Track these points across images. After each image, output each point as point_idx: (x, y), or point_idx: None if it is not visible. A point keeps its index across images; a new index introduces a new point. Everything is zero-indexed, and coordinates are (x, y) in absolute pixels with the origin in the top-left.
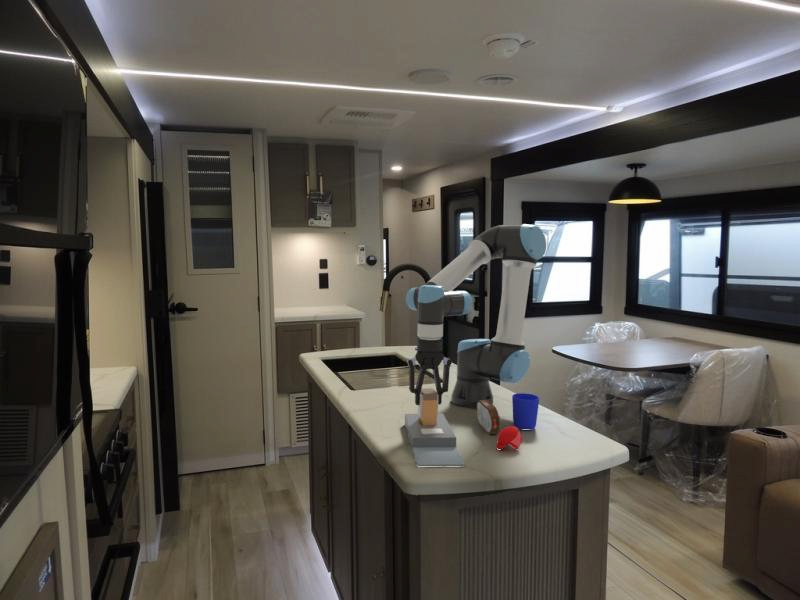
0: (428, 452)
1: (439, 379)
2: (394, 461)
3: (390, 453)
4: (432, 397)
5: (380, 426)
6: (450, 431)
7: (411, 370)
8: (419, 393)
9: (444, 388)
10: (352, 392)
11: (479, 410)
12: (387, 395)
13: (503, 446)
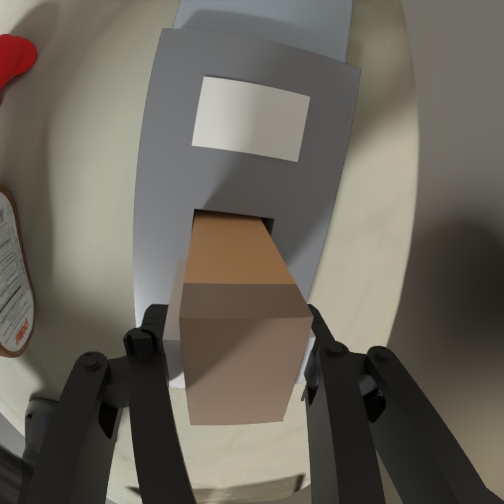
0: (299, 16)
1: (141, 460)
2: (403, 28)
3: (405, 82)
4: (227, 296)
5: (354, 319)
6: (156, 107)
7: (470, 478)
8: (326, 347)
9: (102, 376)
10: (308, 468)
11: (14, 326)
12: (249, 468)
13: (21, 38)
